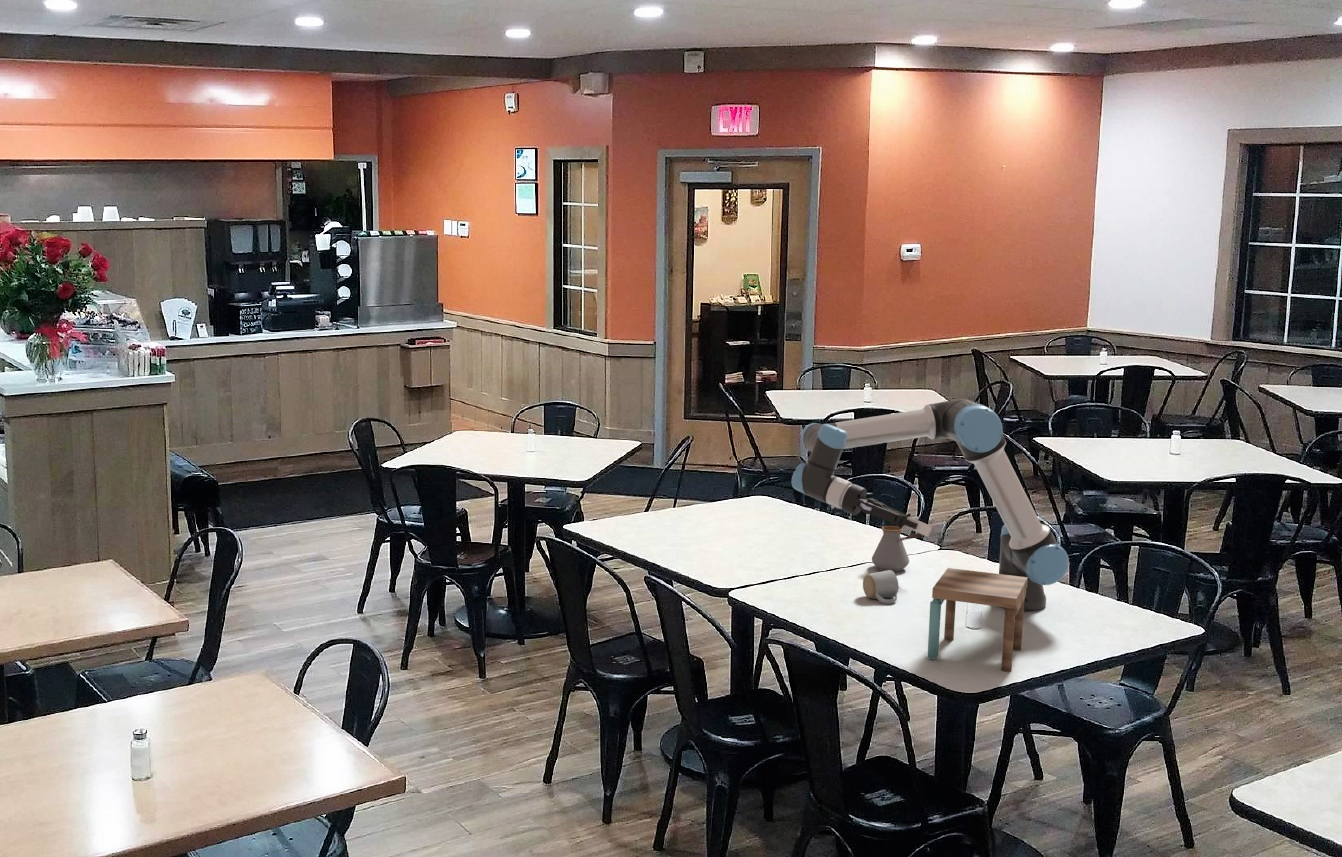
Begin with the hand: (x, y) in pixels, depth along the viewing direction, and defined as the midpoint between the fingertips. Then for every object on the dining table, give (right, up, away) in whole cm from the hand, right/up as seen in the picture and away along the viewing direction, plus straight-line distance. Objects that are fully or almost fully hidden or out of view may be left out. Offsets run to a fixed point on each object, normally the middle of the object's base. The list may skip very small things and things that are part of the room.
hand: (929, 531), depth 325 cm
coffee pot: (+5, -18, +71) cm, 73 cm away
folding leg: (+2, -30, +1) cm, 30 cm away
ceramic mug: (-5, -23, +44) cm, 50 cm away
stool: (+11, -31, -1) cm, 33 cm away
